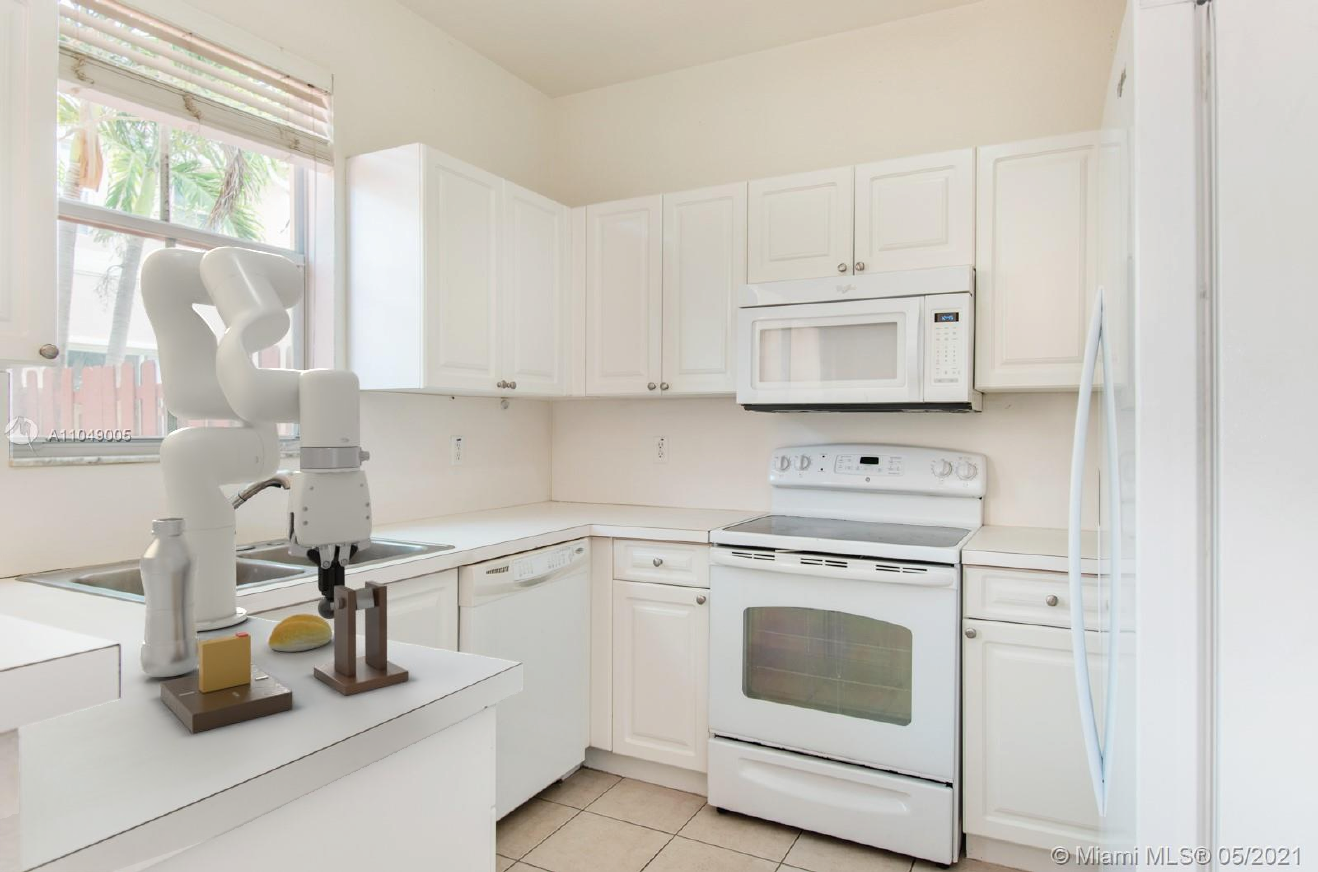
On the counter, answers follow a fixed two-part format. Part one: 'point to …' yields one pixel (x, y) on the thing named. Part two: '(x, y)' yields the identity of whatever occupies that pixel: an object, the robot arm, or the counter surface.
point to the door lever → (362, 602)
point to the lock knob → (224, 662)
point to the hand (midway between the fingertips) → (331, 595)
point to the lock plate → (225, 701)
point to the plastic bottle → (169, 601)
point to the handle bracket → (346, 668)
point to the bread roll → (300, 633)
